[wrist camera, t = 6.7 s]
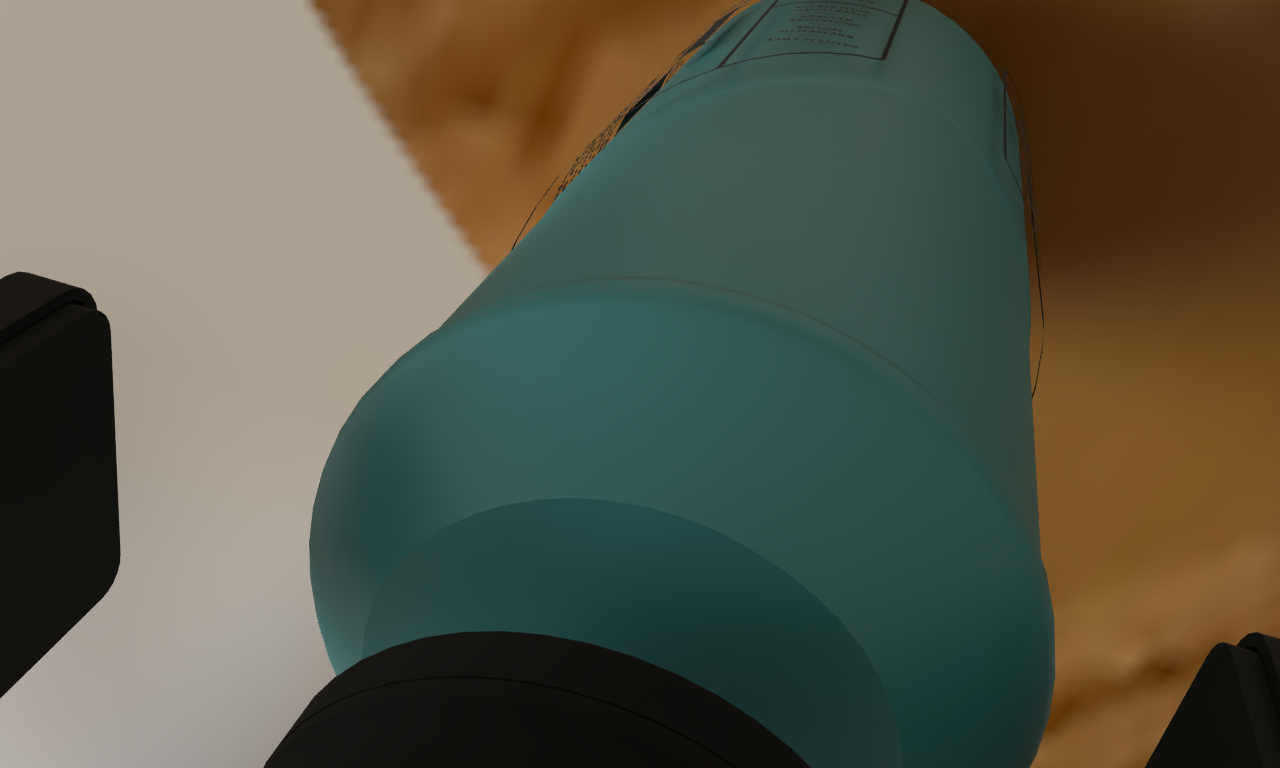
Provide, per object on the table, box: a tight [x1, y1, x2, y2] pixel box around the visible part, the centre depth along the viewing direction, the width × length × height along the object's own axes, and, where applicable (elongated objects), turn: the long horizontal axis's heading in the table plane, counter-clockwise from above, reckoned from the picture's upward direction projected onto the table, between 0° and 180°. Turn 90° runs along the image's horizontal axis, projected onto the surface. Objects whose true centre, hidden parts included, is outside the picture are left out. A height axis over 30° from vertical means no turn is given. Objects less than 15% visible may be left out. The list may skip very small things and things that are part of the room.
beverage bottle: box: [264, 0, 1055, 768], centre depth 15 cm, size 6×7×20 cm
